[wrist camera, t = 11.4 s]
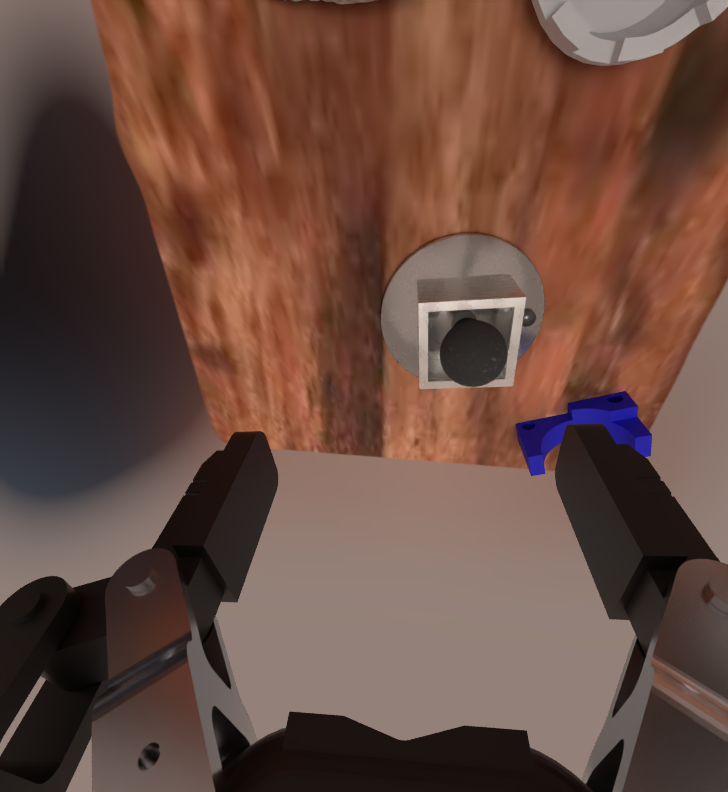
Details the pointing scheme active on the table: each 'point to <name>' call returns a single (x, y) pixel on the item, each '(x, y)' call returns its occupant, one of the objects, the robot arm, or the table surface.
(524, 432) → the cable clip
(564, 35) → the flag stand
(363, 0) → the geological specimen
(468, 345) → the light bulb
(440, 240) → the lamp base
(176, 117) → the table surface
